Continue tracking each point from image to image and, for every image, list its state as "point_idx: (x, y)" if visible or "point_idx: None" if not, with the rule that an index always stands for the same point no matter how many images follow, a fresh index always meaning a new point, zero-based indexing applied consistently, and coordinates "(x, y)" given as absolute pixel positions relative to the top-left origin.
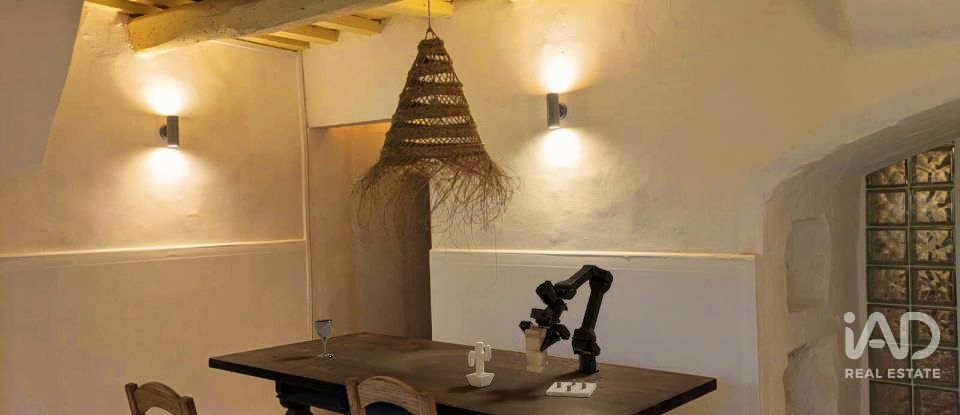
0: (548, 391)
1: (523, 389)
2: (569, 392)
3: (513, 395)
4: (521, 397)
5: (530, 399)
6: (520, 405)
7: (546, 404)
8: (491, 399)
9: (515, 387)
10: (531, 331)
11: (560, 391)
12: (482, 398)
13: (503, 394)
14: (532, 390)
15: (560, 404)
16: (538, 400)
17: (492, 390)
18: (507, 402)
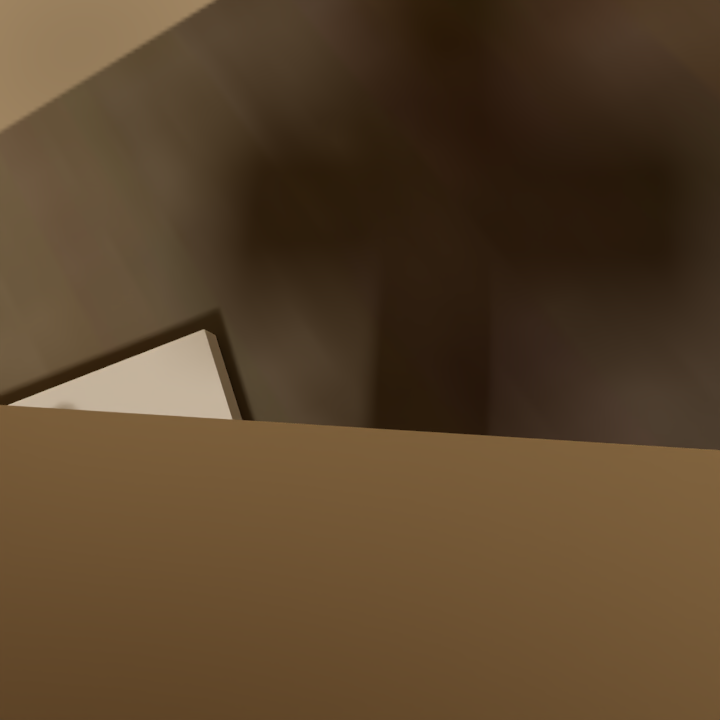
0: (189, 341)
1: (494, 408)
2: (27, 399)
3: (441, 201)
4: (349, 186)
5: (257, 175)
6: (230, 17)
7: (90, 129)
8: (513, 23)
9: (606, 435)
10: (313, 427)
11: (105, 392)
12: (594, 7)
13: (533, 184)
14: (404, 417)
15: (9, 179)
16: (191, 184)
17: (712, 240)
18: (355, 25)
